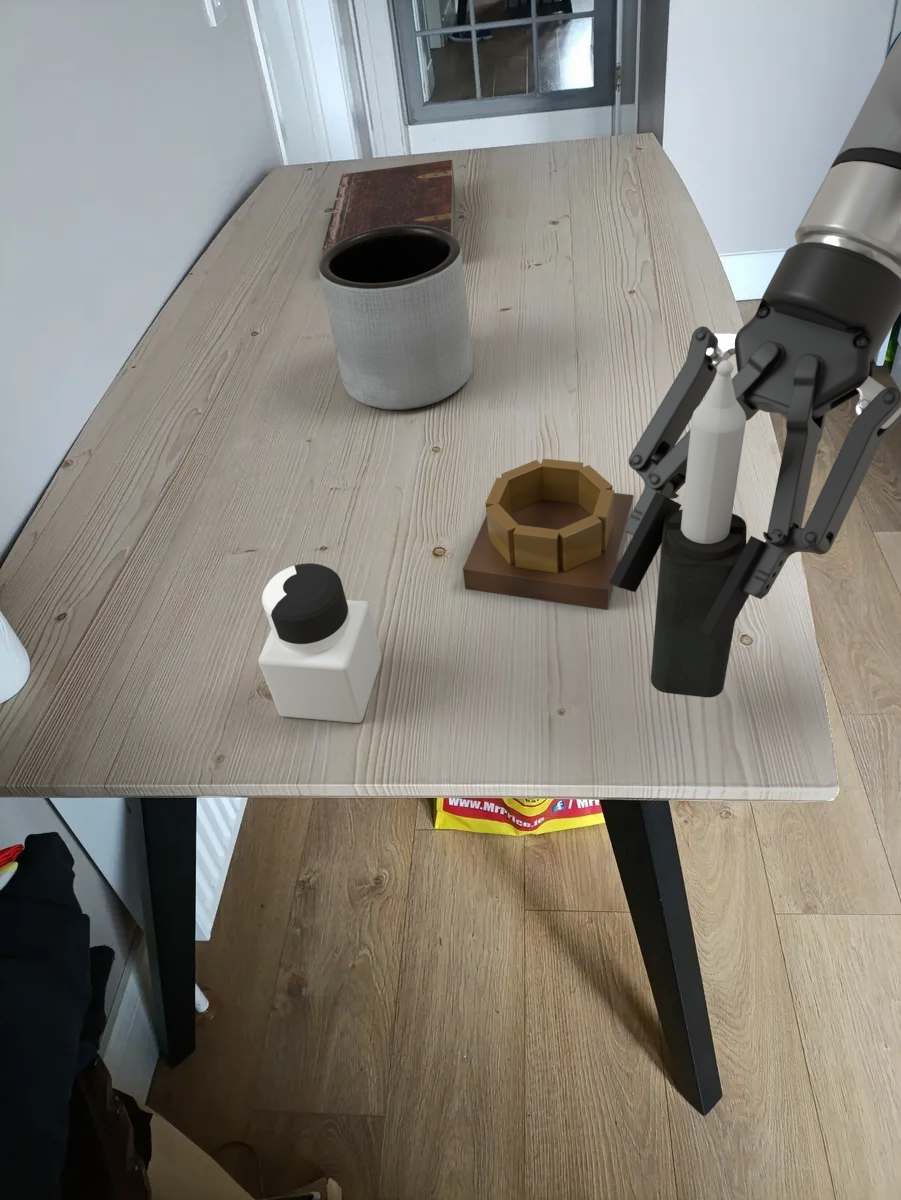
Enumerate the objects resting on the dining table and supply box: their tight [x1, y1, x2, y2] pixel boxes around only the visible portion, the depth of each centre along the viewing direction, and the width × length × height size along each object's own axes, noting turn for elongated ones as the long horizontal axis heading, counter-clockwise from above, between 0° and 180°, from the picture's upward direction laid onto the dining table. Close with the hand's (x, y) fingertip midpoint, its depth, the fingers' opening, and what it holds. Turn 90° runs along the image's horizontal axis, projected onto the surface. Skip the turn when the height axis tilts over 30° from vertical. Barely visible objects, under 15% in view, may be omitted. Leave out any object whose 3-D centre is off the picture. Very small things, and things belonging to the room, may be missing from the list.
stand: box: [462, 458, 635, 610], centre depth 80 cm, size 13×13×6 cm
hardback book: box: [321, 159, 456, 257], centre depth 136 cm, size 29×19×5 cm, turn 0°
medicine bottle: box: [258, 562, 382, 724], centre depth 69 cm, size 7×7×12 cm
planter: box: [318, 225, 474, 411], centre depth 101 cm, size 16×16×16 cm
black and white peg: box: [650, 360, 747, 699], centre depth 55 cm, size 5×5×25 cm
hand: (665, 610), depth 56 cm, fingers closed on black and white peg, 6 cm apart
